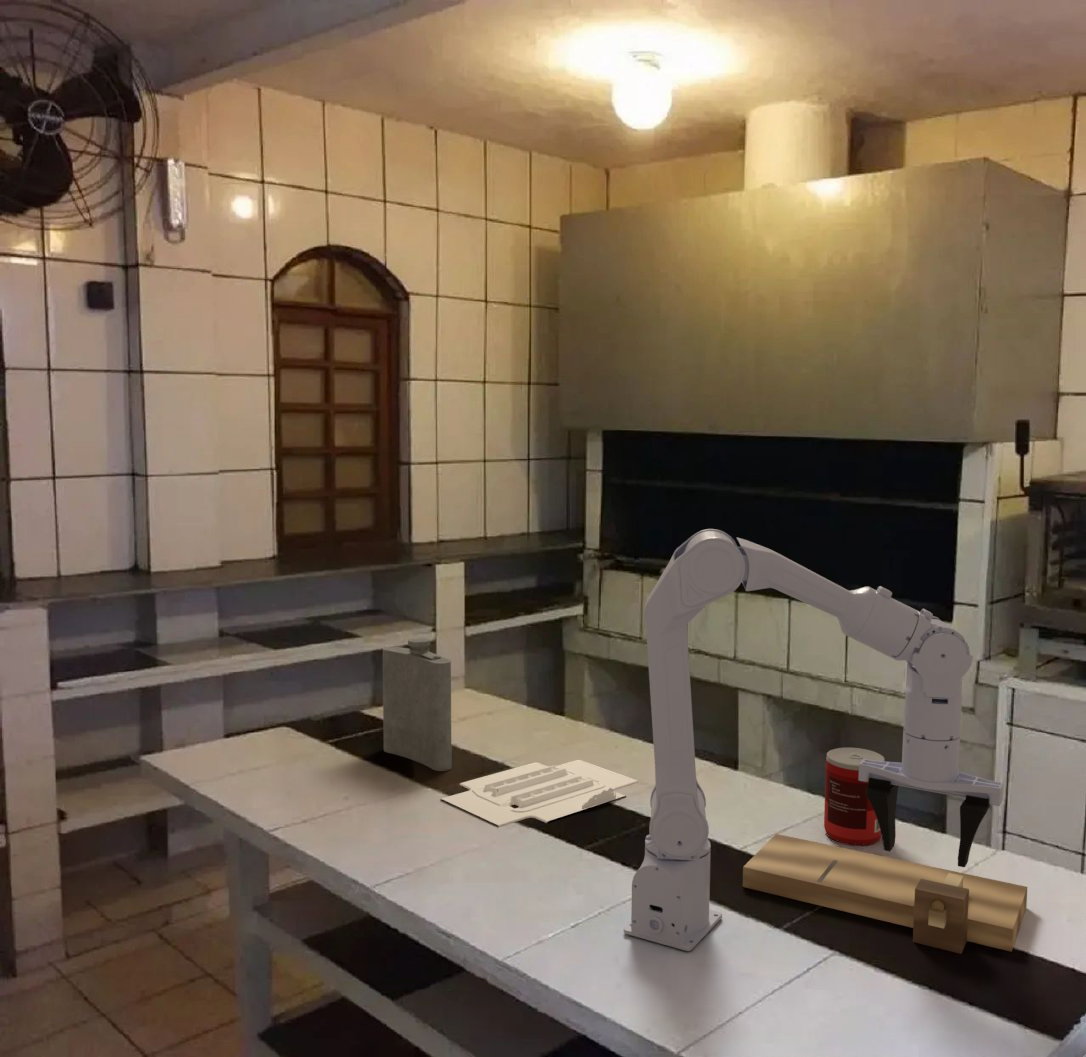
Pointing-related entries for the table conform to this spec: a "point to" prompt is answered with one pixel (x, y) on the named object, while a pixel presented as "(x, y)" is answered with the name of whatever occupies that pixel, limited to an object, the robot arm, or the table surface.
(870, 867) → the oak board
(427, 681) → the hip flask
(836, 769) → the canned food
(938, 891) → the brown block with bar
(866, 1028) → the table surface
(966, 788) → the robot arm
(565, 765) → the tray
